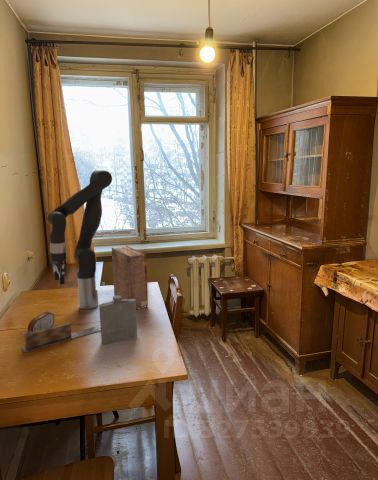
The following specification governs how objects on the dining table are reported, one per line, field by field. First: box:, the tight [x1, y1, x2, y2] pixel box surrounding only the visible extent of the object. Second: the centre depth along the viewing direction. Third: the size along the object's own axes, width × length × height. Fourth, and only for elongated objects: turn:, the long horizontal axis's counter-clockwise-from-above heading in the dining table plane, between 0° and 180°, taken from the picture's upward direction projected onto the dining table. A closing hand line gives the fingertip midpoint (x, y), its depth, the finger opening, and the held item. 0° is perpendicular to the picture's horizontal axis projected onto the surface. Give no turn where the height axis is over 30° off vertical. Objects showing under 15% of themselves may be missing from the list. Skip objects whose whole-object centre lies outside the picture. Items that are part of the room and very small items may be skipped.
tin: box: [27, 311, 55, 332], centre depth 164 cm, size 15×3×8 cm, turn 160°
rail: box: [21, 324, 101, 353], centre depth 159 cm, size 36×5×1 cm, turn 125°
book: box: [111, 245, 149, 310], centre depth 197 cm, size 25×9×30 cm, turn 34°
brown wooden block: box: [23, 322, 72, 350], centre depth 154 cm, size 18×4×6 cm, turn 125°
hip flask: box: [98, 295, 138, 345], centre depth 155 cm, size 16×4×20 cm, turn 114°
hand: (59, 281), depth 182 cm, fingers open, 8 cm apart
